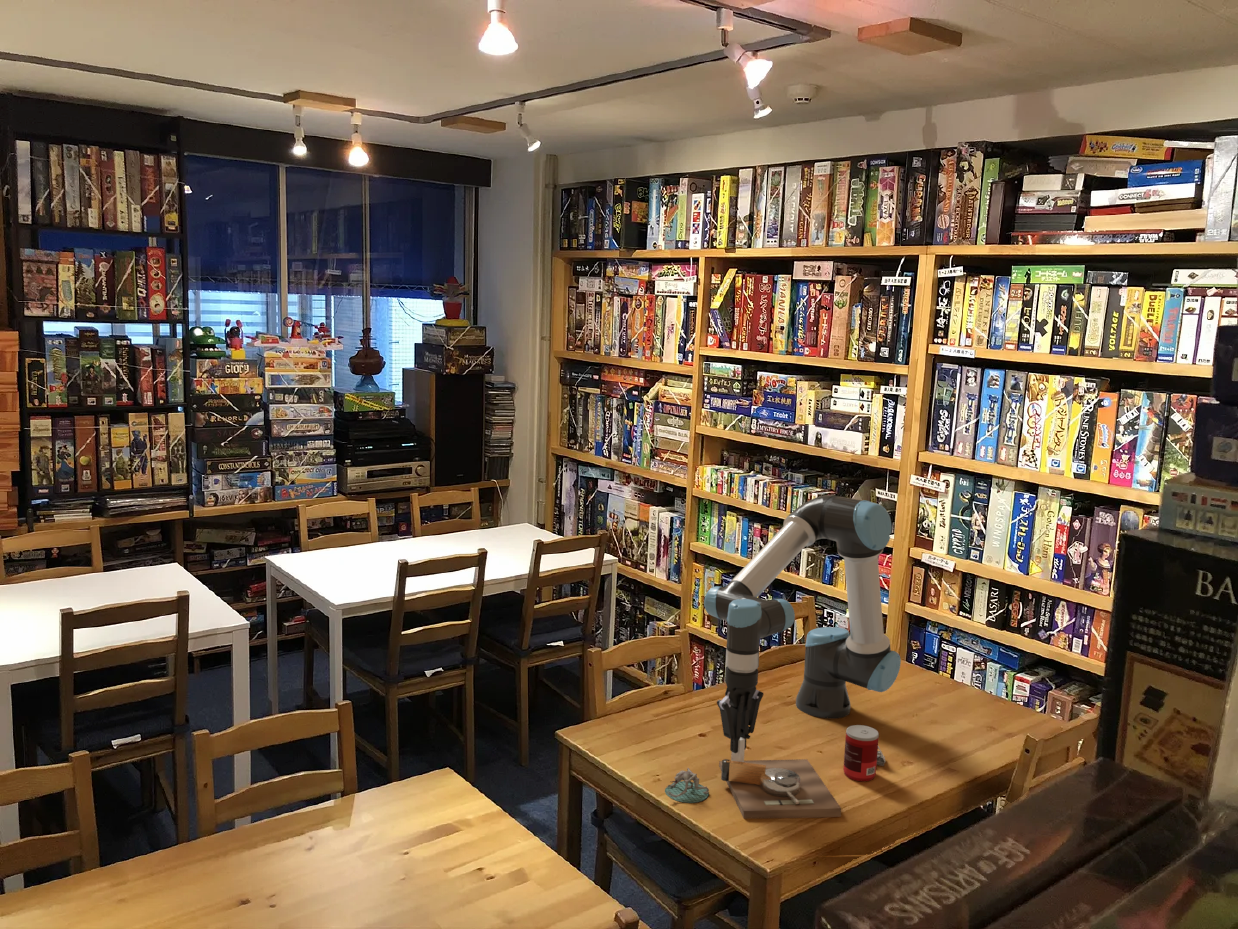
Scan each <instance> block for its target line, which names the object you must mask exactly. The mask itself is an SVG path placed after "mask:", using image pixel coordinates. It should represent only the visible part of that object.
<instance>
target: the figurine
mask: <svg viewBox="0 0 1238 929" xmlns="http://www.w3.org/2000/svg"><path fill="white" fill-rule="evenodd" d="M686 770H687V771H686ZM686 770H680V771H678V772H677V773H676V774H675V776H674V780H672V781H671V784H668V785H667V786H666V787H665V788H664V793H665V795H666V796H667V797H668V798H669V799H671V800H673V801H675V802H677V803H678V802H679V803H683V804H698V803H702V802H704V801H706V800H708V798H709V796H710V792H709V791H710V789H709V788H708V786H704V785H702V784H699V783H700V778H699V777H697V775H698V774H697V773H694V772H692V770H691V769H690V768H689V767H687V769H686Z"/></svg>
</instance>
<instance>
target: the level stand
mask: <svg viewBox="0 0 1238 929" xmlns="http://www.w3.org/2000/svg"><path fill="white" fill-rule="evenodd" d="M718 762H719V763H718V764H719V765H718V767H719V769H720V772H721V773H722V760H720V761H718ZM744 762H745V763H753V764H760V765H766V769H770V768H782V769H787V770H790V771H793V772H795V773H796V774H798V775H799V776H800V779H801V780H800V791H799V793H798V794H796V795H794V797H795V798H796V799H797V800H798V801H799V804H795V803H794V802H793V801H792V800H791V799H790V798H789V797H778V796H774V795H770V794H768V793H766V792H764V791H763V790H762V789H761V787H760V785H756V784H749V783H741V782H734V781H725V782H726V785H727V786H728V788H729V791H730V792H731V794H732V798H733V799H734V801H735V803H736V804H735V805H737V808H738V810H739V812H740V814H741V816H742V819H746V820H747V819H801V818H803V819H810V818H812V819H813V818H841V817H842V807H841V806H840V804H839V803H838V801H837V800H836V798H835V797H834V796H833V794H832V793H831V791H830V790H829V788H828V787H827V786H826V784H825V783H824V781H823V780H822V778H821V777H820V776H819V774H818V772H817V771H816V770H815V768H814V767H813V765H812V764H811V763H810V761H809V760H808V759H807V758H806V759H805V758H804V759H803V758H802V759H763V760H762V759H759V760H758V759H757V760H756V759H755V760H754V759H753V760H744Z"/></svg>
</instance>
